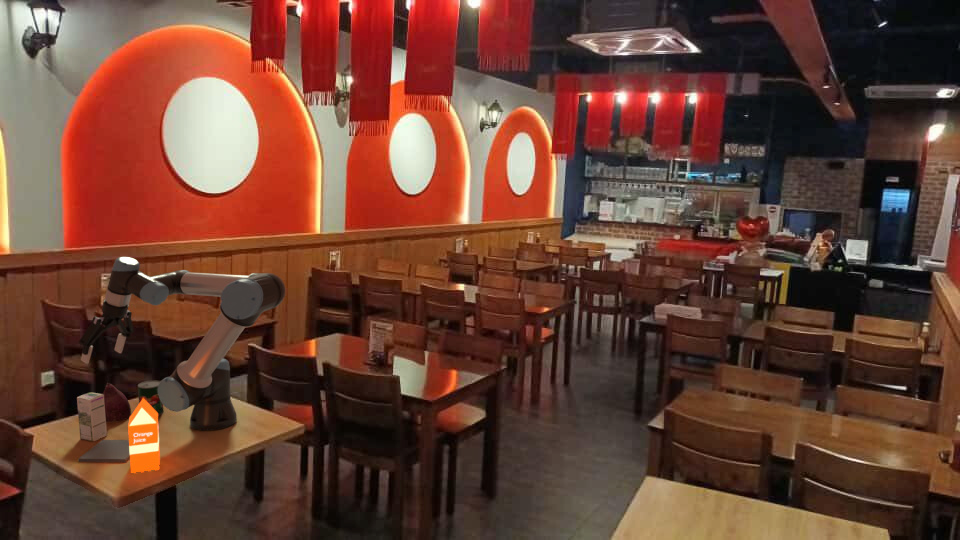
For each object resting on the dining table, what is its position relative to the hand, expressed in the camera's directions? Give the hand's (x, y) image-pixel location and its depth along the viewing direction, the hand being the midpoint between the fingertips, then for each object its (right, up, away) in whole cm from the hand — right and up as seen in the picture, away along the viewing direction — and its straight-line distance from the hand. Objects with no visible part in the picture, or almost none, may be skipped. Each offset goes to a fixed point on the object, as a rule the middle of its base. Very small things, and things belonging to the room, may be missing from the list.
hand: (101, 356), depth 232 cm
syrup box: (+2, -26, -8) cm, 27 cm away
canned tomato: (+10, -22, +14) cm, 28 cm away
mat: (+14, -28, -19) cm, 36 cm away
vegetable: (-1, -23, +10) cm, 25 cm away
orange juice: (+28, -29, -27) cm, 49 cm away
